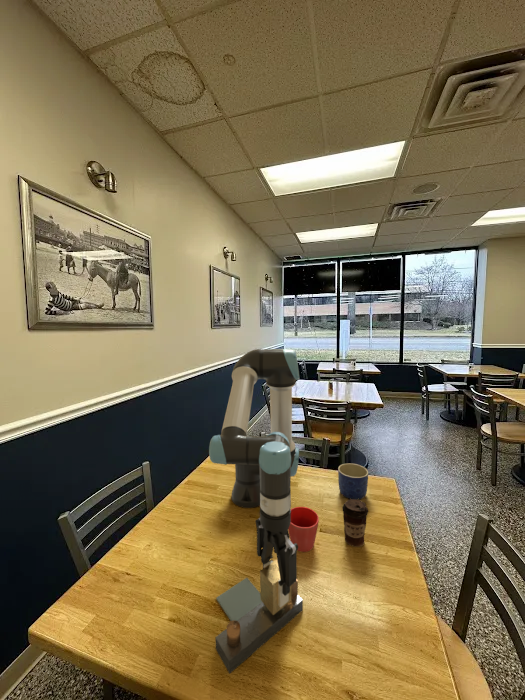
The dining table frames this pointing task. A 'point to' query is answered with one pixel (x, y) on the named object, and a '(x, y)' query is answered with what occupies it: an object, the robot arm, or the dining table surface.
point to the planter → (353, 481)
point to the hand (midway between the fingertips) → (275, 594)
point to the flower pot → (303, 528)
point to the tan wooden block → (271, 587)
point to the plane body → (254, 630)
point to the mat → (239, 599)
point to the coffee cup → (354, 522)
